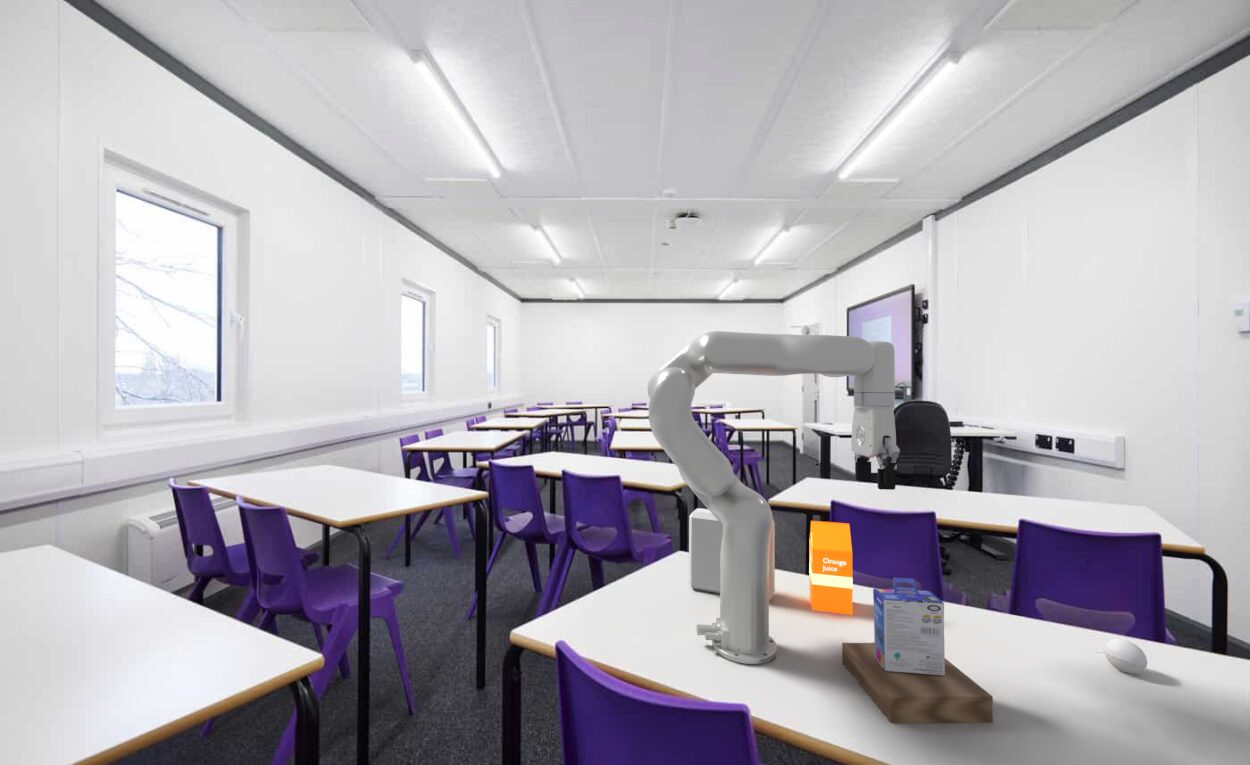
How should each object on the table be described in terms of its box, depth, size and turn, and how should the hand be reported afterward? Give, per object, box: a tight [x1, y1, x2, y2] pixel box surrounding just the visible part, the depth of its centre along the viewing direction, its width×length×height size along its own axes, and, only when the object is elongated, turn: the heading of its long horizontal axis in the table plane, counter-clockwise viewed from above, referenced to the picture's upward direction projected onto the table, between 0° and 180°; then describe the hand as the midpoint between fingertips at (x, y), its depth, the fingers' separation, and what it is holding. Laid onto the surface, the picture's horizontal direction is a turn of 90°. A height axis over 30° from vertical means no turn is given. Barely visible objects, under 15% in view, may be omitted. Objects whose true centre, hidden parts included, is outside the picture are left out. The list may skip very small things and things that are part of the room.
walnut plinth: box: [841, 642, 994, 724], centre depth 82 cm, size 16×16×4 cm
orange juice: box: [808, 520, 854, 616], centre depth 115 cm, size 8×9×20 cm
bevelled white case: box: [688, 507, 776, 602], centre depth 123 cm, size 21×8×20 cm, turn 66°
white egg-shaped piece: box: [1095, 638, 1148, 674], centre depth 89 cm, size 8×6×6 cm
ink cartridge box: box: [872, 576, 946, 676], centre depth 83 cm, size 10×6×14 cm, turn 83°
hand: (874, 484), depth 99 cm, fingers open, 9 cm apart
